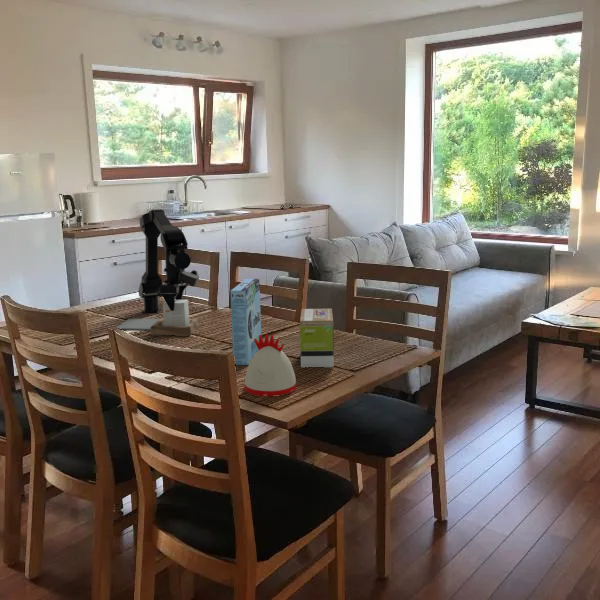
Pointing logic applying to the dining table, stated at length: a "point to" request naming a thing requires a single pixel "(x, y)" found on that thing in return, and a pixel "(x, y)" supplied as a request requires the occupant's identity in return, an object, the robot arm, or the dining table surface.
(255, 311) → the blue thin cardboard box
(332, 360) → the tea box
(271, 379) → the kitchen timer
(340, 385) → the dining table surface
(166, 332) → the walnut bay
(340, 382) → the dining table surface
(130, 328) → the slate mat
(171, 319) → the small box
